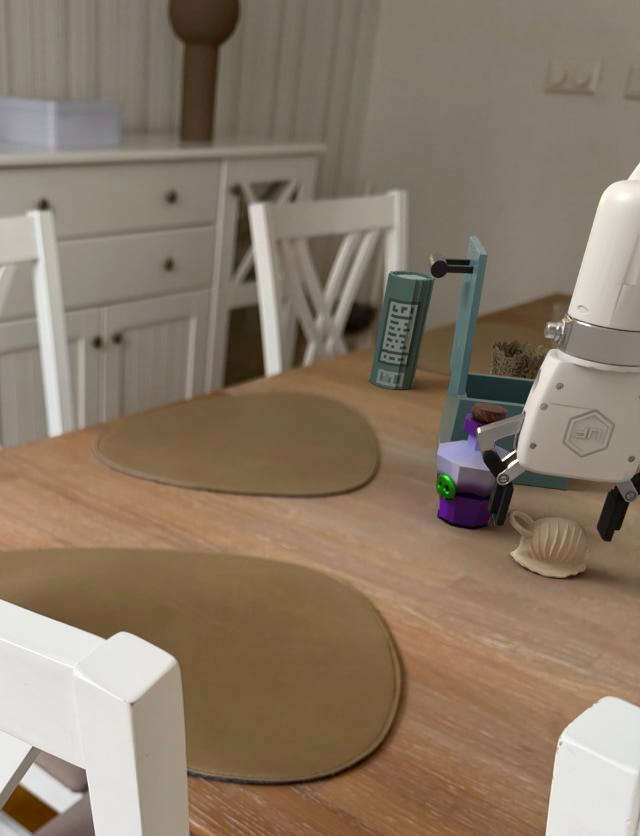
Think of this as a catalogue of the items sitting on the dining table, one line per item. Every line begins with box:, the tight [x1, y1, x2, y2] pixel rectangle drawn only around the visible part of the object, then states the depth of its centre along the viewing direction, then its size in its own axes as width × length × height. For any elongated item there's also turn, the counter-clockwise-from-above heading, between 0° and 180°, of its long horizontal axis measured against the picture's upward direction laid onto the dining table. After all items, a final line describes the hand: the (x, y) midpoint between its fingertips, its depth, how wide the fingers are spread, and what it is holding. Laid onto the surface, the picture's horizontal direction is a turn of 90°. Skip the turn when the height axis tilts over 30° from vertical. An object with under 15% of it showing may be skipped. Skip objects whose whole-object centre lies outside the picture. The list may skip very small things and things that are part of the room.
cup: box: [489, 339, 550, 379], centre depth 135 cm, size 8×7×8 cm
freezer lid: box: [427, 235, 489, 395], centre depth 109 cm, size 15×12×5 cm
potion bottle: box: [435, 403, 513, 530], centre depth 99 cm, size 9×9×12 cm
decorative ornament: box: [507, 509, 589, 579], centre depth 92 cm, size 4×8×5 cm, turn 75°
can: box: [368, 269, 436, 391], centre depth 138 cm, size 6×6×15 cm
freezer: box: [436, 371, 571, 491], centre depth 114 cm, size 14×12×9 cm
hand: (549, 528), depth 91 cm, fingers open, 9 cm apart
